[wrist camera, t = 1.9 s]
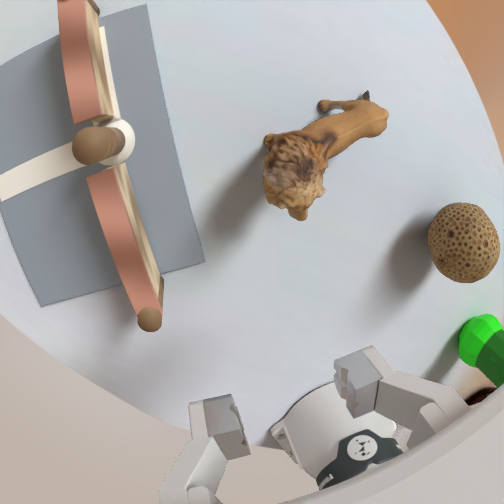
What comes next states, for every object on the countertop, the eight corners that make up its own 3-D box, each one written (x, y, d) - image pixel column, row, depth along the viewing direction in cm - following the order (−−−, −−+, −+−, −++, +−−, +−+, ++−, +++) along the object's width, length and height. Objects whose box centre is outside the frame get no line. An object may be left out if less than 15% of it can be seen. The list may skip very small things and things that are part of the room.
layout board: (204, 260, 28) (205, 262, 28) (42, 304, 26) (40, 306, 26) (146, 5, 18) (146, 3, 18) (-24, 83, 16) (-26, 82, 16)
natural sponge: (397, 254, 33) (454, 295, 24) (421, 182, 30) (488, 206, 21) (442, 263, 36) (493, 298, 27) (463, 201, 33) (521, 226, 24)
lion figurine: (268, 207, 28) (305, 242, 20) (229, 163, 26) (252, 180, 17) (378, 112, 26) (442, 115, 18) (348, 68, 24) (409, 54, 16)
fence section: (129, 150, 23) (111, 157, 17) (103, 159, 23) (77, 170, 17) (102, 2, 17) (81, -31, 11) (76, 11, 17) (49, -18, 10)
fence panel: (106, 167, 23) (83, 179, 17) (127, 160, 23) (109, 170, 17) (148, 292, 28) (142, 334, 22) (167, 287, 28) (165, 328, 22)
